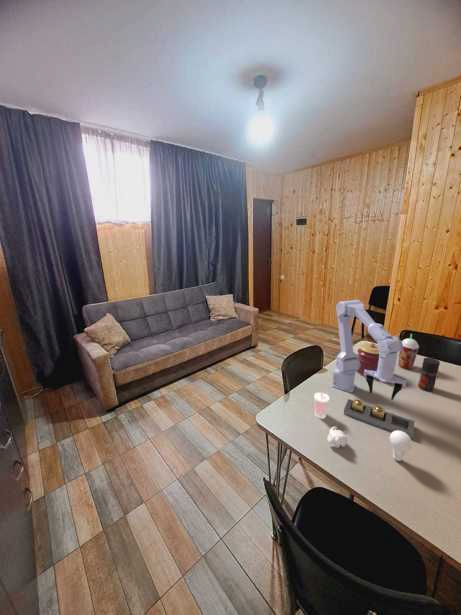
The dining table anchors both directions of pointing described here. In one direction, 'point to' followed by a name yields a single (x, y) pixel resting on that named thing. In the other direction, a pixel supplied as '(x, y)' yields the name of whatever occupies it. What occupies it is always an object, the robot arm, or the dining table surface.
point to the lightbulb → (400, 444)
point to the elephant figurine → (337, 437)
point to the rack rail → (380, 423)
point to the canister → (368, 357)
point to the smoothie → (408, 353)
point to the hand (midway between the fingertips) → (381, 395)
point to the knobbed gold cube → (378, 412)
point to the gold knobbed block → (358, 406)
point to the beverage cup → (321, 404)
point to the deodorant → (428, 374)
